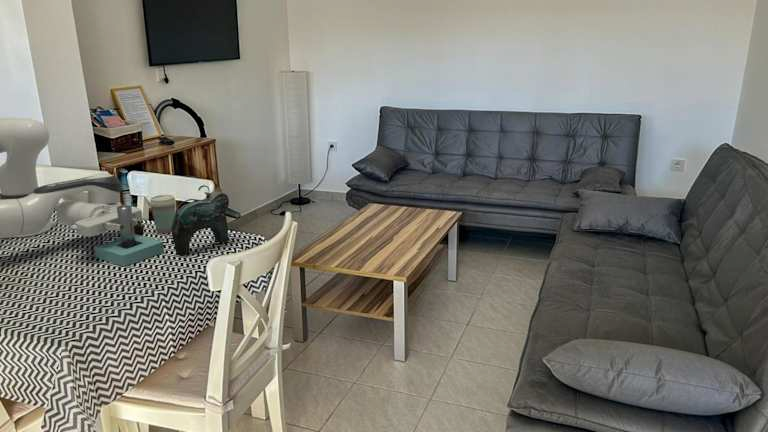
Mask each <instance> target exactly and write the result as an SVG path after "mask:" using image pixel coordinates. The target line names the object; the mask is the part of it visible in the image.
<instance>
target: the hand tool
mask: <svg viewBox="0 0 768 432" xmlns="http://www.w3.org/2000/svg"><path fill="white" fill-rule="evenodd" d="M142 223H143V222H142V221H141V220H140V221H137V224H136V225H134V232H135V234H137V235H140V236H143V235H144V230H145V228H144V226H143V224H142Z"/></svg>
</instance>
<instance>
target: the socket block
mask: <svg viewBox="0 0 768 432" xmlns="http://www.w3.org/2000/svg"><path fill="white" fill-rule="evenodd" d="M135 240H136V246H134V247H131V248H128V249H125V248H122V243H121V237H120V238H118V239H114V240H111V241H107V242H105V243H102V244H98V245H95V246H94V253H95V258H97V259H100V260H102V261H105V262H109V263H112V264H114V265H118V266H119V267H120V266H121V267H125V268H126V267H127V266H128V267H129V266H131V265H133V264H135V263H139V262H141V261H144V260H146V259H150V258H153V257H155V256H159V255H161V254H164V253H165V248H164V247H165V245H164V241H161V240H157V239H154V238H151V237H147V236H143V235H137V234H135Z"/></svg>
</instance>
